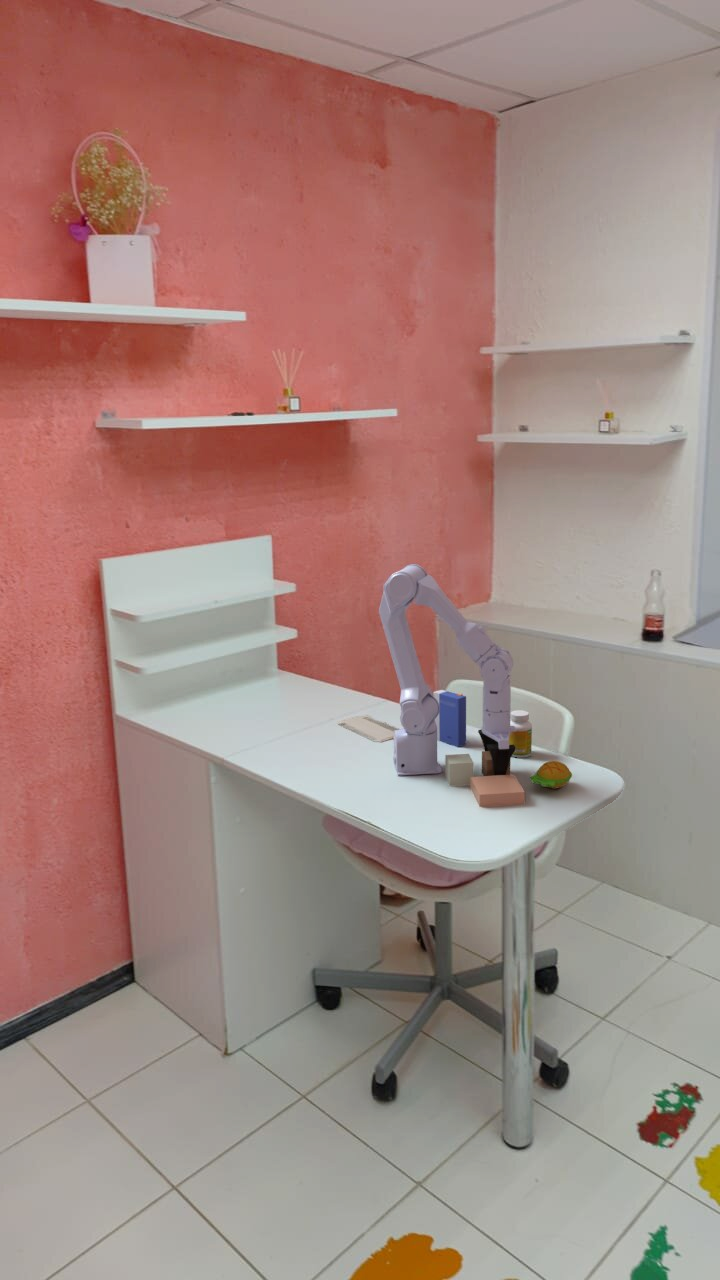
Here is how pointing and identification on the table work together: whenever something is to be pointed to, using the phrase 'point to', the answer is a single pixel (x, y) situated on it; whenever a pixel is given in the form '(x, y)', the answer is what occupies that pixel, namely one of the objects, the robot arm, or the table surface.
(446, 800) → the table surface
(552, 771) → the orange green rounded dome
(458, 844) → the table surface
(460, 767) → the sage cube
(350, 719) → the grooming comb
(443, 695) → the walkman
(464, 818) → the table surface
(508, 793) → the tile block
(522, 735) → the supplement bottle
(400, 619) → the robot arm
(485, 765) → the walnut cube
